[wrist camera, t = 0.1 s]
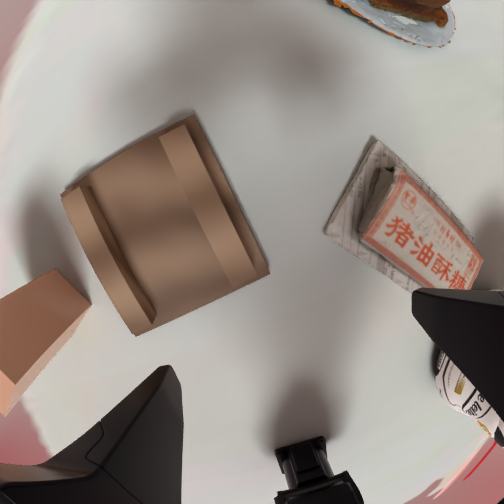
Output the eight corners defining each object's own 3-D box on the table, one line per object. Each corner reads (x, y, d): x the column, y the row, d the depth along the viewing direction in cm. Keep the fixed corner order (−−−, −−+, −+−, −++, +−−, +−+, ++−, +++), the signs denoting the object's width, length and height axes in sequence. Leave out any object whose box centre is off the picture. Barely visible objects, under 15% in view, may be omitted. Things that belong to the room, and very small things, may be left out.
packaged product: (495, 245, 22) (457, 325, 23) (467, 237, 26) (431, 309, 28) (398, 132, 18) (341, 242, 19) (368, 141, 23) (318, 232, 24)
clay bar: (92, 304, 22) (15, 384, 10) (71, 336, 23) (5, 417, 10) (55, 268, 21) (-38, 323, 8) (37, 303, 21) (-42, 365, 9)
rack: (268, 270, 24) (275, 280, 21) (138, 331, 23) (129, 348, 20) (195, 117, 20) (191, 106, 17) (65, 194, 20) (48, 195, 17)
